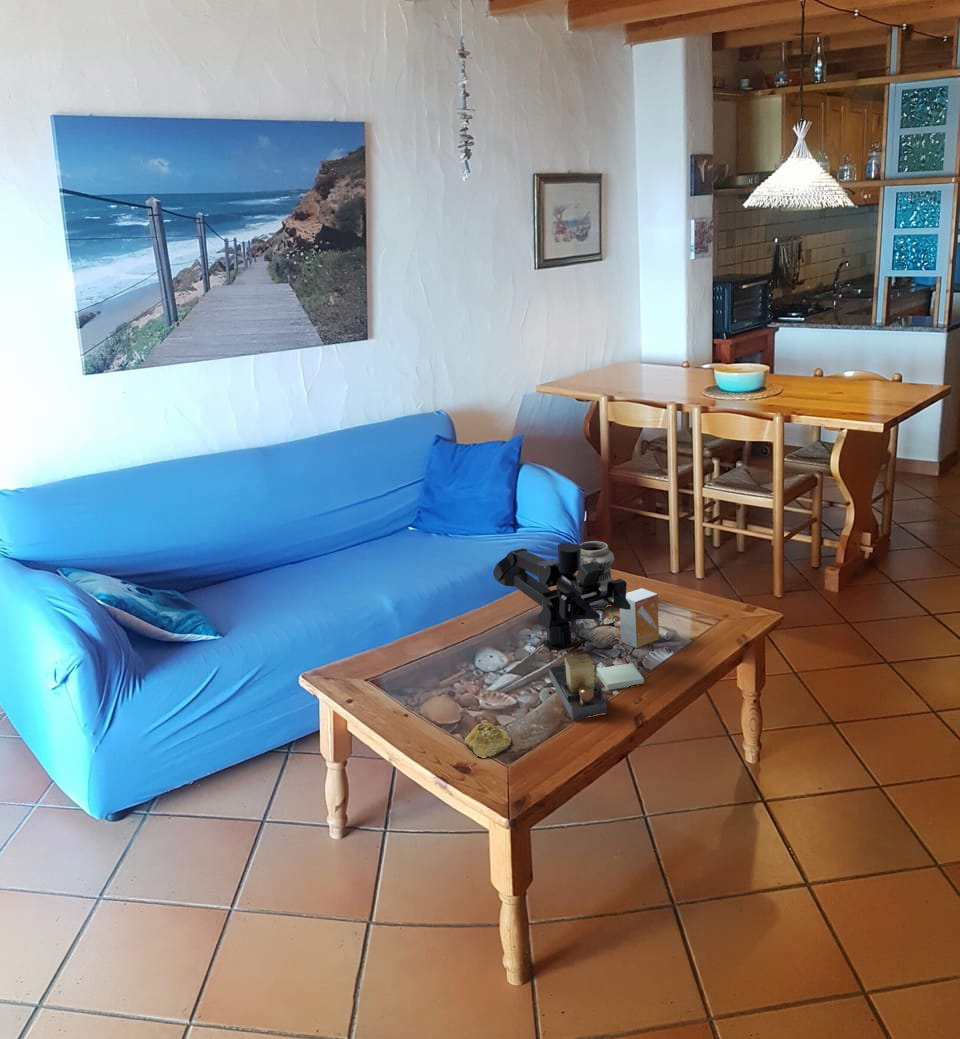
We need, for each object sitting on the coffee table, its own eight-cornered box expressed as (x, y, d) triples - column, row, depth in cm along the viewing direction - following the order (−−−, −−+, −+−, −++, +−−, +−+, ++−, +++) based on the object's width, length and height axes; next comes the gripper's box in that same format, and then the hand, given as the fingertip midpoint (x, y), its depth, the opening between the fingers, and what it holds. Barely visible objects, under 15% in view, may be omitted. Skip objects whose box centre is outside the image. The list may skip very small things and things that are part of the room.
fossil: (510, 726, 203) (463, 733, 202) (514, 754, 203) (467, 761, 203) (506, 714, 214) (461, 721, 213) (509, 741, 214) (465, 747, 214)
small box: (636, 649, 248) (634, 601, 244) (620, 641, 253) (618, 595, 250) (660, 639, 252) (658, 593, 249) (643, 632, 257) (641, 587, 254)
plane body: (549, 678, 236) (548, 656, 234) (581, 673, 237) (580, 651, 235) (572, 720, 215) (571, 696, 213) (607, 714, 216) (605, 690, 215)
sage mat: (596, 674, 236) (596, 668, 236) (632, 668, 237) (632, 663, 237) (607, 690, 228) (607, 684, 227) (644, 684, 229) (643, 678, 228)
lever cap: (566, 688, 224) (564, 657, 221) (589, 685, 224) (587, 653, 222) (571, 697, 219) (569, 665, 217) (594, 693, 220) (593, 661, 218)
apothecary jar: (600, 614, 272) (597, 554, 267) (566, 607, 280) (562, 548, 275) (624, 600, 280) (621, 542, 275) (591, 593, 288) (587, 536, 283)
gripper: (545, 566, 235) (584, 590, 222) (607, 550, 243) (647, 572, 231) (545, 608, 239) (582, 633, 226) (605, 590, 247) (644, 614, 235)
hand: (614, 612), depth 229 cm, fingers open, 9 cm apart
